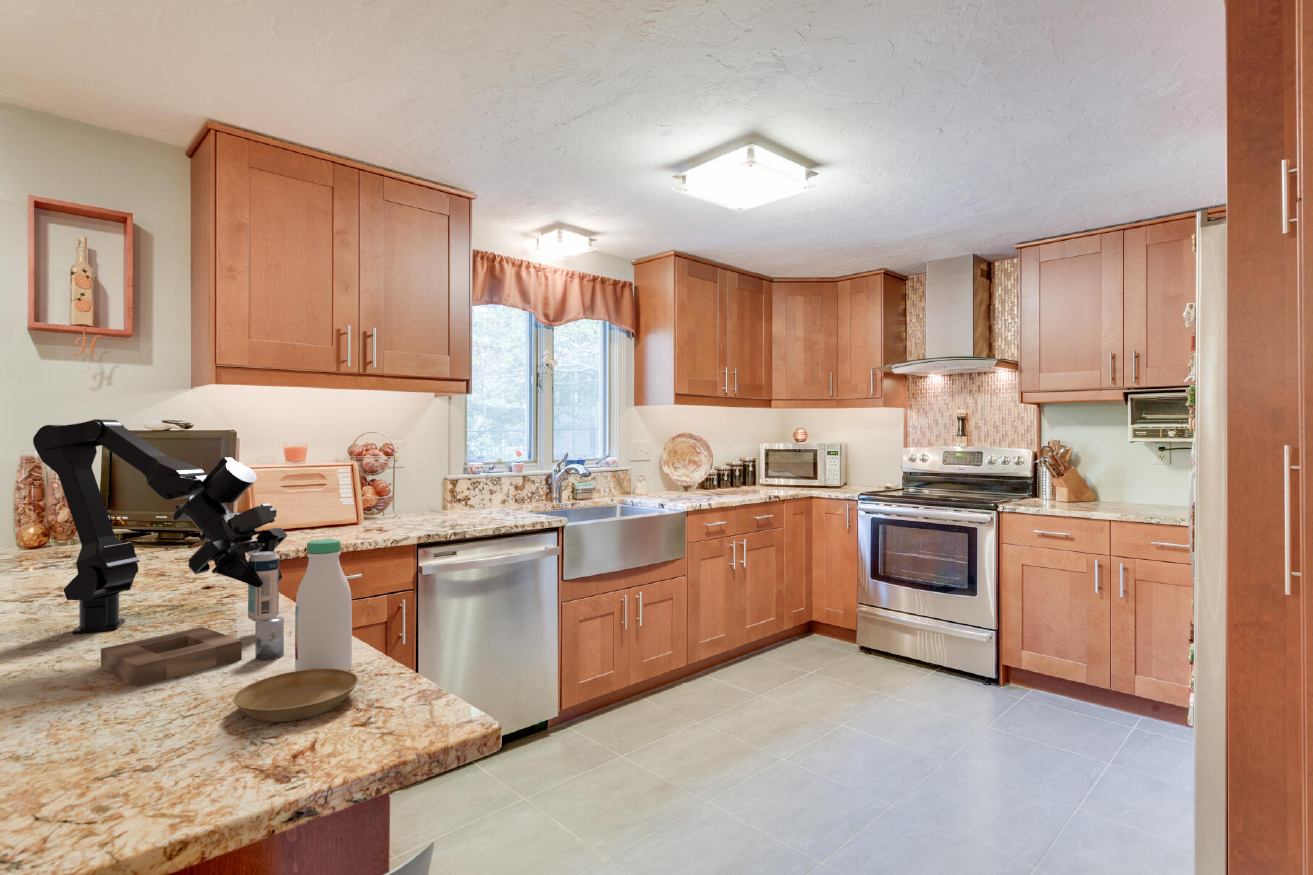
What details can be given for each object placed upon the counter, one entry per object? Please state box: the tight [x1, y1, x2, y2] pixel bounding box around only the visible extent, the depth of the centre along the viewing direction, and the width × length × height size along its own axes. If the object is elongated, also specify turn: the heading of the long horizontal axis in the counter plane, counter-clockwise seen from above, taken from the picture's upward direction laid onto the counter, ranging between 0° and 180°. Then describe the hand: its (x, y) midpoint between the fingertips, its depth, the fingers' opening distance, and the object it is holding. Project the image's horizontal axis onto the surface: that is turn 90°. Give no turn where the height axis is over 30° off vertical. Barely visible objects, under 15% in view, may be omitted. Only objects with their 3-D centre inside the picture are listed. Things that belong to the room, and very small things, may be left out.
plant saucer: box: [232, 669, 360, 723], centre depth 88 cm, size 15×15×3 cm
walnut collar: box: [100, 626, 243, 687], centre depth 104 cm, size 14×14×3 cm
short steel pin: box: [254, 616, 285, 662], centre depth 108 cm, size 4×4×6 cm
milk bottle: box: [294, 538, 353, 671], centre depth 100 cm, size 8×8×20 cm
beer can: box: [247, 550, 280, 622], centre depth 121 cm, size 5×5×12 cm
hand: (270, 582), depth 120 cm, fingers closed on beer can, 5 cm apart
